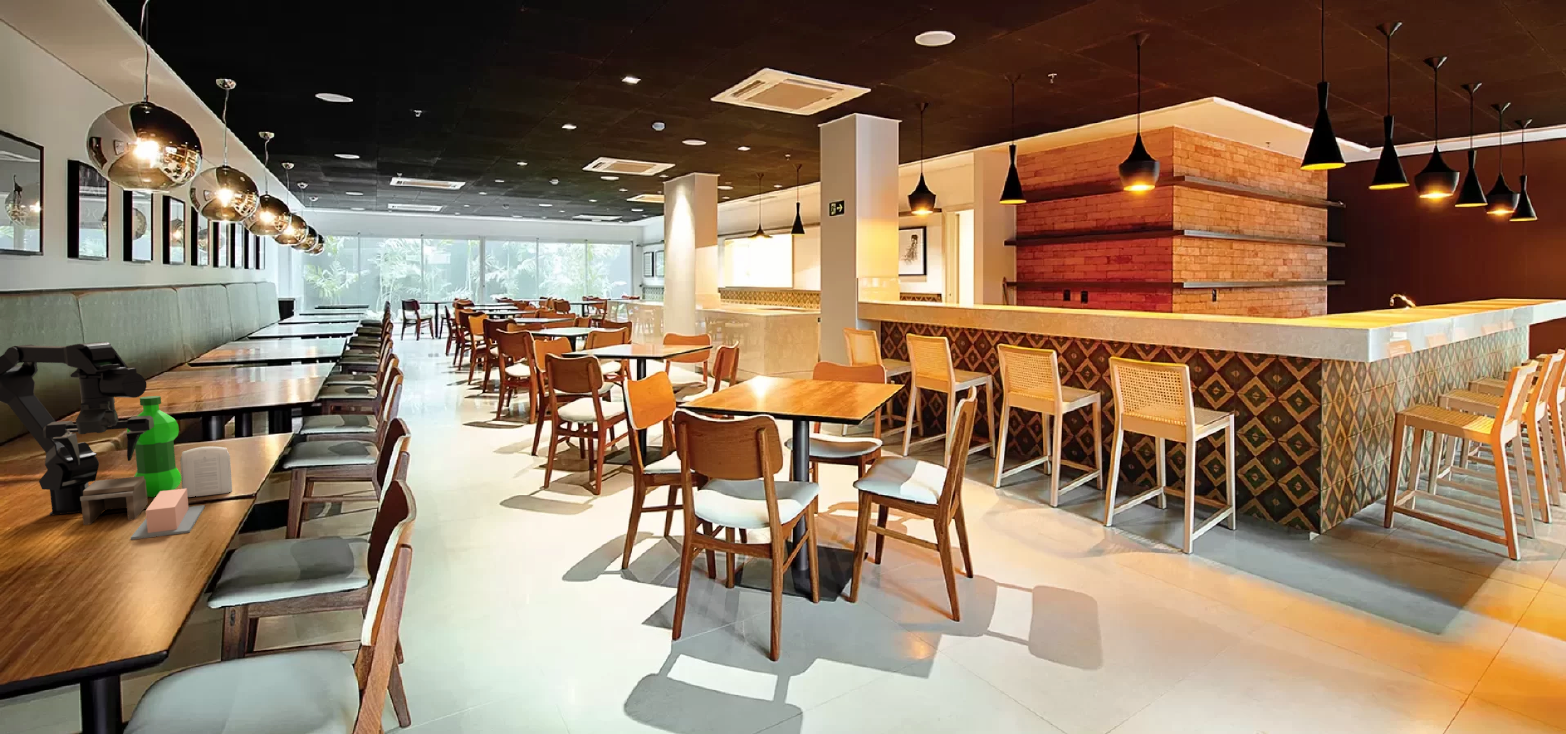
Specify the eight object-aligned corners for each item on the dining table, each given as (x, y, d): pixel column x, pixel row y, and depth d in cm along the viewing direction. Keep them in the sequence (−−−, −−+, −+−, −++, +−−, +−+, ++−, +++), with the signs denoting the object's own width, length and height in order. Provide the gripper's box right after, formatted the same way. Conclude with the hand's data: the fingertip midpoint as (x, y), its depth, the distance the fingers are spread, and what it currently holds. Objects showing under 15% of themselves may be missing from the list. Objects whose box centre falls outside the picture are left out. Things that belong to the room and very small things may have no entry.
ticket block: (147, 532, 167) (145, 510, 167) (161, 511, 182) (160, 491, 181) (176, 529, 170) (174, 507, 169) (188, 508, 184) (186, 488, 184)
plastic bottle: (134, 502, 191) (124, 401, 188) (132, 493, 199) (123, 396, 196) (185, 494, 198) (177, 397, 195) (181, 486, 206) (173, 392, 203)
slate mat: (130, 539, 165) (130, 537, 165) (152, 512, 183) (152, 510, 183) (189, 532, 169) (189, 530, 169) (204, 507, 188) (204, 505, 188)
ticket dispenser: (82, 525, 173) (79, 493, 172) (99, 509, 185) (96, 479, 184) (134, 519, 178) (131, 488, 177) (147, 504, 190) (145, 474, 189)
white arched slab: (233, 489, 203) (229, 443, 202) (232, 493, 199) (228, 446, 198) (183, 495, 197) (179, 447, 196) (182, 499, 194) (177, 450, 192)
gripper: (30, 404, 168) (38, 475, 170) (140, 398, 177) (147, 465, 179) (48, 397, 178) (55, 464, 180) (151, 392, 187) (157, 455, 189)
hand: (104, 462), depth 181 cm, fingers open, 9 cm apart
